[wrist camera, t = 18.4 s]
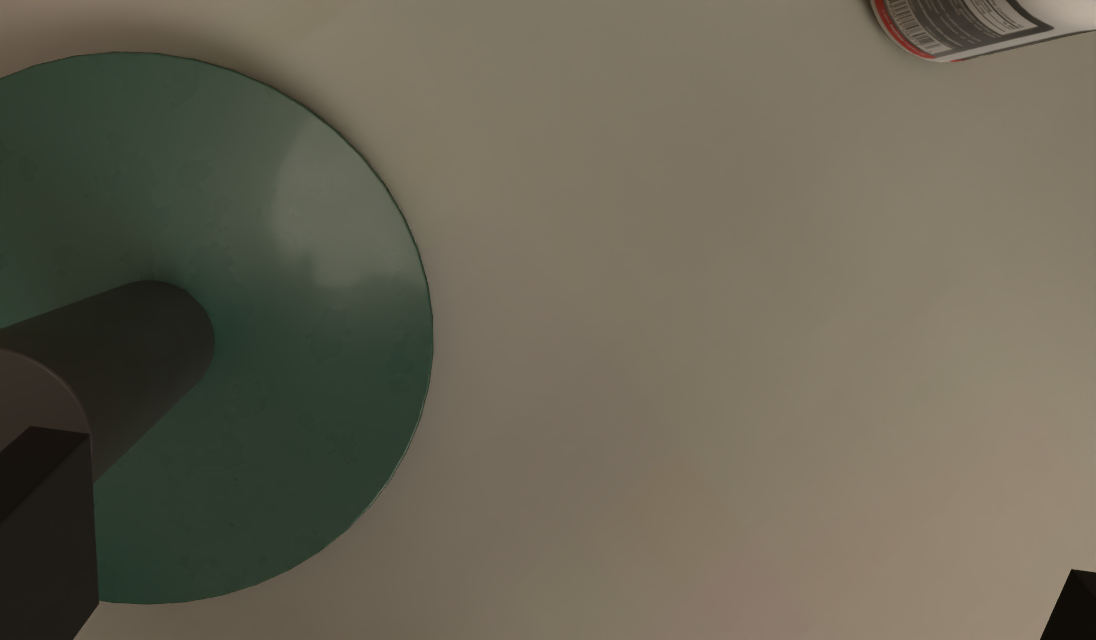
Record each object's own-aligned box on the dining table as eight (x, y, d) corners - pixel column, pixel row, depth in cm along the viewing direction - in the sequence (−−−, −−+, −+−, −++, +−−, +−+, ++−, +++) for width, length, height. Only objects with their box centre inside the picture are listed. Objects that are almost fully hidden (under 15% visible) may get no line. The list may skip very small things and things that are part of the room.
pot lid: (324, -14, 27) (265, -173, 15) (501, 479, 30) (567, 671, 18) (-244, 159, 25) (-817, 135, 13) (7, 664, 28) (-275, 1010, 16)
